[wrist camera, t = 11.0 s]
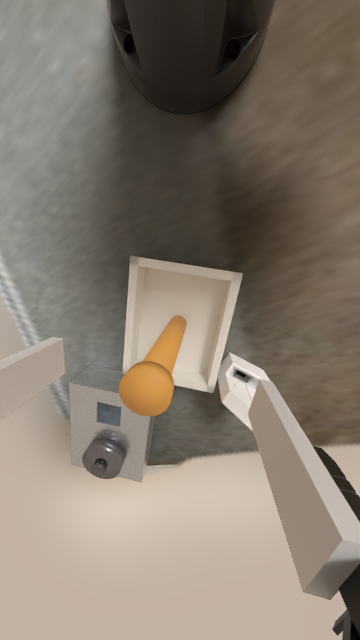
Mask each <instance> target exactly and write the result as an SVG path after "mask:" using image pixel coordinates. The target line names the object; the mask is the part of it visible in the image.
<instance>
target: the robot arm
mask: <svg viewBox="0 0 360 640" xmlns="http://www.w3.org/2000/svg"><path fill="white" fill-rule="evenodd" d="M106 1H107V8H108V13H109V18H110V22H111V26H112V30H113V33H114V36H115V40H116V42H117V45H118V48H119V51H120V53H121V56H122V59H123V62H124V64H125V67H126V69H127V71H128V74H129V75H130V77H131V79H132V81H133V82H134V84H135V86H136V87H137V88H138V90H139V91H140V92H141V93H142V94H143V95H144V96H145V97H146V98H147V99H148V100H149V101H150V102H152V103H153V104H155V105H156V106H158V107H160V108H162V109H164V110H167V111H170V112H174V113H194V112H198V111H201V110H204V109H207V108H209V107H211V106H213V105H215V104H217V103H218V102H220V101H221V100H222V99H224V98H225V97H226V96H227V95H229V94H230V93H231V92H232V91H233V90H234V89H235V88H236V87H237V86H238V85H239V83H240V82H241V81H242V80H243V78H244V77H245V76H246V74H247V73H248V71H249V70H250V68H251V66H252V65H253V63H254V61H255V59H256V57H257V55H258V53H259V51H260V49H261V46H262V44H263V41H264V39H265V36H266V33H267V29H268V26H269V22H270V18H271V15H272V11H273V7H274V3H275V0H106ZM64 374H65V364H64V346H63V339H61V338H56V337H51V338H49V339H47V340H45V341H42V342H40V343H38V344H36V345H33V346H31V347H29V348H26V349H24V350H22V351H20V352H18V353H15V354H13V355H11V356H8V357H6V358H4V359H2V360H0V422H1V421H2V420H4V419H5V418H6V417H8V416H9V415H10V414H12V413H13V412H14V411H16V410H17V409H18V408H20V407H21V406H22V405H24V404H25V403H26V402H28V401H29V400H30V399H32V398H33V397H34V396H36V395H37V394H38V393H40V392H41V391H42V390H44V389H45V388H46V387H48V386H49V385H50V384H52V383H53V382H54V381H56V380H57V379H58V378H60V377H61V376H62V375H64ZM248 416H249V419H250V423H251V426H252V429H253V432H254V436H255V439H256V442H257V445H258V448H259V452H260V455H261V458H262V461H263V464H264V468H265V471H266V474H267V477H268V481H269V484H270V487H271V490H272V493H273V496H274V500H275V503H276V506H277V510H278V513H279V516H280V519H281V522H282V526H283V529H284V532H285V535H286V538H287V541H288V545H289V548H290V551H291V555H292V558H293V561H294V564H295V567H296V571H297V574H298V577H299V580H300V583H301V587H302V590H303V592H305V593H308V594H312V595H315V596H319V597H322V598H325V599H329V600H331V599H332V597H333V596H334V595H335V594H336V593H337V592H338V591H340V593H341V595H342V598H343V600H344V602H345V605H346V607H347V610H346V611H345V612H344V613H343V615H341V616H340V617H339V619H338V620H337V621H336V622H335V625H334V627H333V631H334V632H335V633H336V634H337V635H339V634H340V633H341V632H342V631H343V639H342V640H360V497H359V496H358V495H356V492H355V490H354V489H353V487H352V486H351V484H350V483H349V481H347V480H346V477H345V475H344V474H343V472H342V471H341V470H340V468H339V467H338V465H337V464H336V462H335V461H334V460H333V459H332V458H331V457H330V456H329V455H328V454H327V453H326V452H325V451H324V450H323V449H322V448H318V447H314V446H312V445H311V443H310V441H309V440H308V438H307V437H306V435H305V433H304V432H303V430H302V429H301V427H300V425H299V424H298V422H297V421H296V419H295V417H294V416H293V414H292V413H291V411H290V409H289V408H288V406H287V404H286V403H285V401H284V400H283V398H282V396H281V395H280V393H279V392H278V390H277V388H276V387H275V385H274V384H273V382H272V381H267V380H262V379H259V382H258V385H257V388H256V391H255V394H254V397H253V400H252V403H251V406H250V409H249V412H248Z"/></svg>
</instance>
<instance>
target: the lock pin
mask: <svg viewBox="0 0 360 640" xmlns="http://www.w3.org/2000/svg"><path fill="white" fill-rule="evenodd" d="M186 325H187V323H186V320H185V318H184V317H182V316H174V317H173V318H172V319H171V320H170V322H169V323H168V324H167V326H166V327H165V329H164V330H163V332H162V333H161V335H160V336H159V338H158V339H157V341H156V342H155V343H154V345H153V346H152V348H151V349H150V351H149V352H148V354H147V355H146V357H145V358H144V360H143V361H142V362H138V363H136V364H134V365H133V366H132V367H131V368H130V369H129V370H128V372H127V373H126V374H125V375H124V377H123V378H122V380H121V381H120V384H119V395H120V398H121V400H122V402H123V403H124V405H125V406H126V407H127V408H128V409H129V410H131V411H132V412H134V413H136V414H138V415H142V416H156V415H159V414H161V413H163V412H164V411H165V410H166V409H167V408H168V407H169V405H170V403H171V399H172V395H173V391H174V380H173V377H172V372H173V369H174V366H175V362H176V359H177V356H178V352H179V349H180V345H181V342H182V339H183V335H184V332H185V329H186Z"/></svg>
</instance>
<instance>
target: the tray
mask: <svg viewBox="0 0 360 640" xmlns="http://www.w3.org/2000/svg"><path fill="white" fill-rule="evenodd" d="M242 276H243V273H238V272H231V271H225V270H218V269H212V268H206V267H199V266H193V265H186V264H180V263H174V262H167V261H161V260H154V259H148V258H142V257H135V256H130V269H129V284H128V299H127V313H126V328H125V343H124V358H123V372H122V374H124V375H125V374H126V373H127V372H128V370H129V369H130V368H131V367H132V366H133V365H134V364H136V363H138V362H142V361H143V360H144V358H145V357H146V355H147V354H148V352H149V351H150V349H151V348H152V346H153V345H154V343H155V342H156V341H157V339H158V338H159V336H160V335H161V333H162V332H163V330H164V329H165V327H166V326H167V324H168V323H169V322H170V320H171V319H172V318H173V317H174V316H182V317H184V318H185V320H186V323H187V325H186V329H185V332H184V335H183V339H182V342H181V345H180V349H179V352H178V356H177V359H176V362H175V366H174V369H173V372H172V377H173V380H174V385H176V386H181V387H186V388H190V389H195V390H200V391H205V392H209V393H214V389H215V385H216V381H217V377H218V373H219V369H220V365H221V361H222V357H223V353H224V349H225V344H226V340H227V336H228V332H229V328H230V324H231V320H232V316H233V312H234V308H235V304H236V300H237V296H238V292H239V288H240V284H241V280H242Z"/></svg>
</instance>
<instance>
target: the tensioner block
mask: <svg viewBox="0 0 360 640" xmlns="http://www.w3.org/2000/svg"><path fill="white" fill-rule="evenodd" d="M122 372H123V371H120V370H116V369H111V368H106V367H101V366H96V365H92V364H91V365H90V366H88V367H87V368H86V369H85V370H84V371H82V372H81V373H80V374H79V375H78V376H76V377H75V378H74V379H73V380H71V381H70V382H69V398H70V428H71V457H72V465H76V466H80V467H84V468H86V469H87V470H88V471H89V472H90V473H91V474H93V475H94V476H96V477H99V478H103V479H111V478H114V477H116V476H119V477H123V478H127V479H131V480H134V481H139V482H142V479H143V475H144V472H145V468H146V465H147V461H148V458H149V454H150V450H151V443H152V436H153V429H154V422H155V416H142V415H138V414H136V413H134V412H132V411H131V410H129V409H128V408H127V407H126V406H125V405H124V403H123V402H122V400H121V398H120V395H119V384H120V381H121V380H122V378H123V377H124V374H122Z"/></svg>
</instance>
